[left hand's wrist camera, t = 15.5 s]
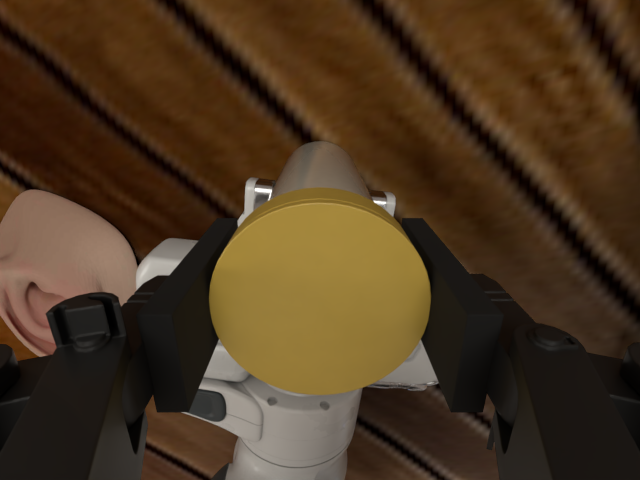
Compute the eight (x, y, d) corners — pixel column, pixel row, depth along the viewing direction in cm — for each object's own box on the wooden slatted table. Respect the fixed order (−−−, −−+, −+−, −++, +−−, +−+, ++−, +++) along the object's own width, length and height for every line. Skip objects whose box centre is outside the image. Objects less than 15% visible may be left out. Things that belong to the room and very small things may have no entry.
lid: (187, 233, 11) (164, 256, 10) (377, 152, 10) (388, 163, 9) (275, 380, 13) (269, 419, 12) (439, 323, 12) (457, 357, 11)
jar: (269, 159, 26) (192, 257, 10) (340, 128, 25) (375, 181, 9) (301, 225, 28) (276, 395, 12) (368, 198, 27) (435, 341, 11)
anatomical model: (-64, 191, 22) (125, 233, 23) (-10, 178, 26) (151, 214, 27) (-40, 360, 27) (117, 388, 28) (3, 328, 31) (140, 354, 32)
